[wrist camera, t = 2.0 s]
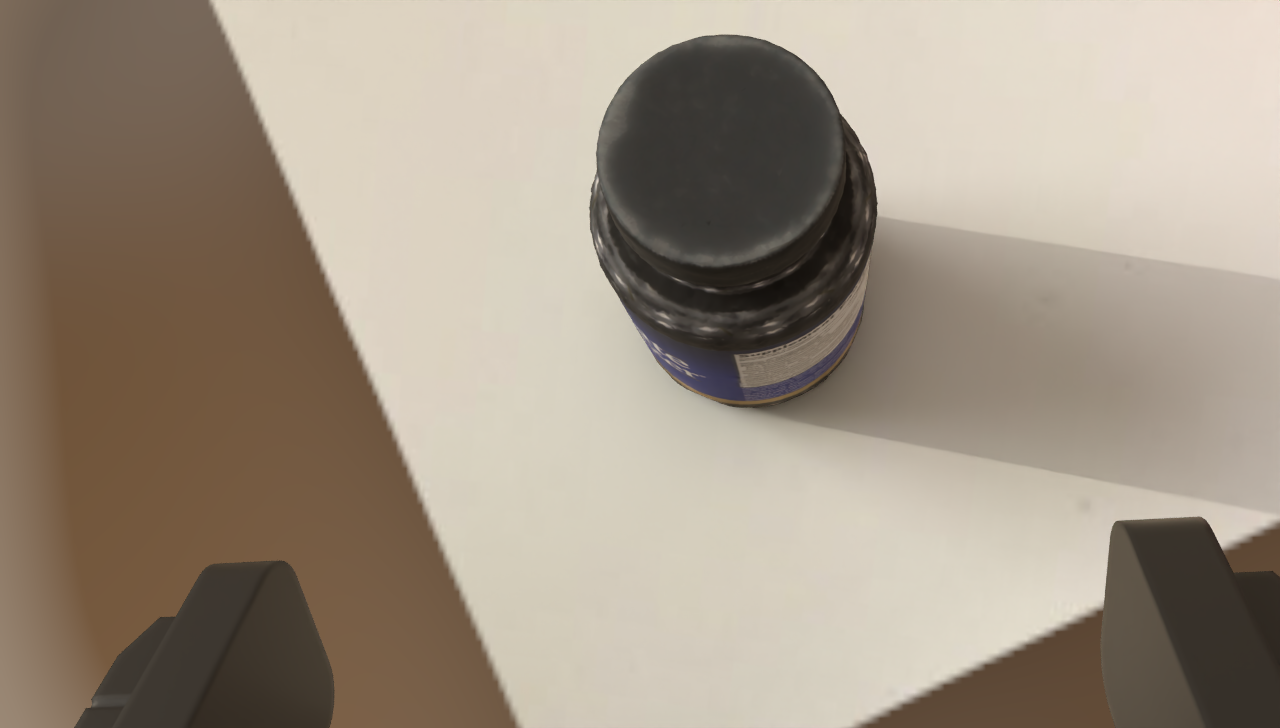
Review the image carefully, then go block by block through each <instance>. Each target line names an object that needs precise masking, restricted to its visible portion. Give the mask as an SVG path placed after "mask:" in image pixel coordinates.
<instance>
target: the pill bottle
mask: <svg viewBox="0 0 1280 728" xmlns="http://www.w3.org/2000/svg"><path fill="white" fill-rule="evenodd" d="M596 157H597V173H596V175H595V180H594V182H593V184H592V188H591V192H592V195H591V200H590V207H589V209H590V230H591V233H592V238H593V243H594V246H595V249H596V252H597V255H598V259H599V262H600V266H601V268H602V269H603V271H604V273H605V275H606V277H607V279H608V280H609V282H610V284H611V285H612V287H613V288H614V290H615V292H616V293H617V295H618V297H619V298H620V300H621V302H622V304H623V305H624V307H625V309H626V310H627V312H628V314H629V316H630V317H631V319H632V321H633V323H634V324H635V326H636V328H637V330H638V331H639V333H640V334H641V336H642V337H643V339H644V341H645V342H646V344H647V346H648V347H649V349H650V350H651V352H652V354H653V355H654V357H655V359H656V360H657V362H658V363H659V364H660V365H661V366H662V368H663V369H664V370H665V371H666V372H667V373H668V374H669V375H670V376H671V378H672V379H673V380H675V381H676V382H677V383H678V384H680V385H681V386H683V387H684V388H686V389H688V390H690V391H693V392H695V393H698V394H700V395H702V396H705V397H707V398H709V399H712V400H715V401H717V402H719V403H722V404H725V405H728V406H732V407H741V408H743V407H753V408H755V407H763V406H772V405H775V404H779V403H782V402H785V401H788V400H790V399H792V398H794V397H797V396H799V395H802V394H804V393H805V392H807V391H809V390H810V389H812V388H814V387H816V386H817V385H818V384H820V383H821V382H823V381H824V380H825V379H827V377H828V376H829V375H830V374H831V373H832V372H833V371H834V369H835V368H836V367H837V366H838V365H839V364H840V363H841V362H842V360H843V359H844V358H845V356H846V355H847V353H848V351H849V348H850V346H851V344H852V342H853V340H854V338H855V335H856V333H857V330H858V328H859V325H860V322H861V319H862V314H863V304H864V298H865V292H866V286H867V278H868V271H869V264H870V257H871V251H872V244H873V239H874V233H875V228H876V217H877V204H878V203H877V198H876V187H875V183H874V177H873V172H872V169H871V166H870V163H869V161H868V157H867V153H866V152H865V150H864V148H863V147H862V145H861V144H860V142H859V139H858V137H857V135H856V134H855V132H854V131H853V129H852V128H851V127H850V125H849V124H848V122H847V121H846V120H845V119H844V117H843V116H842V115H841V114H840V112H839V109H838V107H837V105H836V103H835V100H834V98H833V96H832V94H831V92H830V91H829V89H828V88H827V86H826V84H825V83H824V81H823V80H822V79H821V78H820V77H819V76H818V74H817V73H816V72H815V71H814V70H813V69H812V68H811V67H809V66H808V65H807V64H806V63H805V62H804V61H802V60H801V59H800V58H799V57H797V56H796V55H795V54H793V53H791V52H789V51H787V50H786V49H784V48H782V47H780V46H777V45H775V44H772V43H770V42H768V41H766V40H761V39H757V38H753V37H749V36H740V35H715V36H702V37H698V38H694V39H691V40H688V41H685V42H682V43H680V44H676V45H672V46H670V47H669V48H667V49H665V50H663V51H661V52H658V53H657V54H655V55H654V56H653V57H651V58H650V59H648V60H647V61H646V62H644V63H643V64H641V65H640V66H639V68H637V69H636V70H635V71H634V72H633V73H632V74H631V75H630V76H629V77H628V78H627V79H626V80H625V81H624V83H623V84H622V85H621V86H620V88H619V89H618V91H617V93H616V94H615V96H614V98H613V99H612V101H611V103H610V105H609V107H608V108H607V111H606V113H605V116H604V118H603V121H602V125H601V127H600V131H599V137H598V142H597V152H596Z"/></svg>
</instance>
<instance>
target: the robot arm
mask: <svg viewBox="0 0 1280 728" xmlns="http://www.w3.org/2000/svg"><path fill="white" fill-rule="evenodd" d="M1101 663H1102V673H1103V681H1104V687H1105V692H1106V697H1107V701H1108V705H1109V709H1110V712H1111V715H1112V718H1113V721H1114V724H1115V728H1280V577H1279V576H1278V575H1277V574H1275V573H1274V572H1273V571H1264V572H1241V573H1233V571H1232V569H1231V567H1230V565H1229V563H1228V561H1227V559H1226V557H1225V555H1224V553H1223V551H1222V549H1221V547H1220V545H1219V543H1218V541H1217V539H1216V537H1215V535H1214V533H1213V531H1212V529H1211V527H1210V525H1209V524H1208V523H1207V521H1206V520H1205V519H1203V518H1202V517H1184V518H1164V519H1144V520H1125V521H1116V522H1115V523H1114V525H1113V527H1112V531H1111V536H1110V545H1109V556H1108V567H1107V578H1106V589H1105V600H1104V610H1103V621H1102V632H1101ZM91 700H92V706H91V708H86V709H85V711H84V712H83V714H82V716H81V717H80V719H79V721H78V722H77V724H76V726H75V727H74V728H329V727H330V724H331V719H332V714H333V707H334V681H333V674H332V669H331V666H330V663H329V660H328V657H327V655H326V652H325V650H324V647H323V644H322V641H321V639H320V636H319V633H318V631H317V629H316V626H315V623H314V620H313V618H312V615H311V613H310V610H309V607H308V605H307V602H306V599H305V597H304V594H303V591H302V589H301V586H300V584H299V581H298V578H297V576H296V574H295V572H294V570H293V568H292V567H291V566H290V565H289V564H288V563H286V562H285V561H263V562H243V563H223V564H213V565H210V566H208V567H206V568H205V569H204V571H202V573H201V574H200V576H199V577H198V579H197V581H196V582H195V584H194V586H193V588H192V589H191V591H190V593H189V594H188V596H187V598H186V600H185V601H184V603H183V605H182V607H181V608H180V610H179V612H178V614H177V615H176V617H160V618H159V619H158V620H156V622H154V623H153V624H152V625H151V626H150V627H149V628H148V629H147V630H146V631H144V632H143V633H142V634H141V635H140V636H139V637H138V638H137V639H136V640H135V641H134V642H133V643H131V644H130V645H129V646H128V647H127V648H126V649H125V650H124V651H123V652H122V653H121V654H119V655H118V657H117V658H116V660H115V661H114V663H113V665H112V666H111V668H110V670H109V671H108V673H107V675H106V676H105V678H104V680H103V681H102V683H101V684H100V686H99V688H98V689H97V691H96V693H95V695H94V696H93V698H92V699H91Z"/></svg>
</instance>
